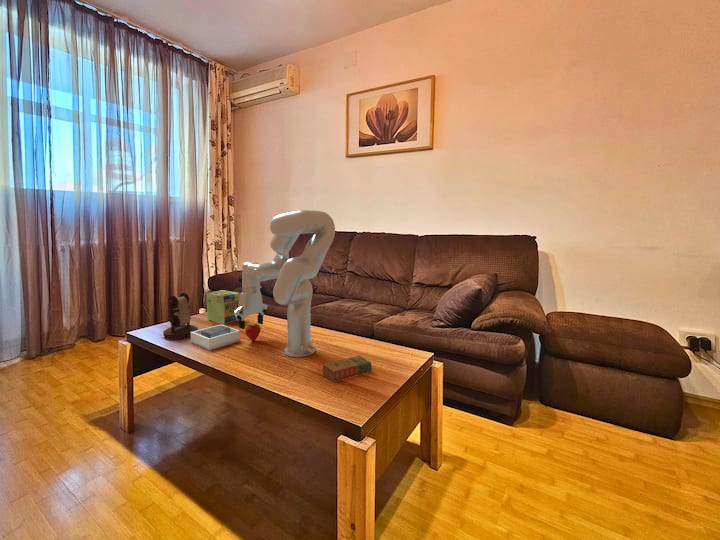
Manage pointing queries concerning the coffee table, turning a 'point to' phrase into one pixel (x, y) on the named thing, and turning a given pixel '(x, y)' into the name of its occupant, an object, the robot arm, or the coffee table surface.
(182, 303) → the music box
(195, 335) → the tote
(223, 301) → the protein box
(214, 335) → the block
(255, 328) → the strawberry
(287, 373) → the coffee table surface
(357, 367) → the carton
